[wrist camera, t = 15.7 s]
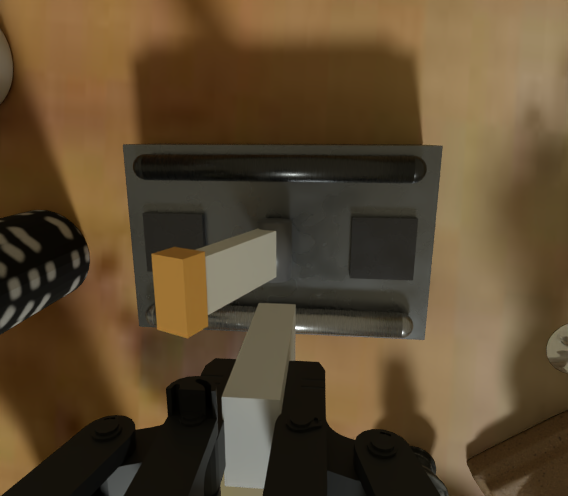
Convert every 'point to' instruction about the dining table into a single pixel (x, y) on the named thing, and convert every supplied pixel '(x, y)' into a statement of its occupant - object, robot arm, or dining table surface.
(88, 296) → the dining table surface
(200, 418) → the robot arm
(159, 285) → the breaker lever
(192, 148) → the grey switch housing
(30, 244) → the spotted tube
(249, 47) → the dining table surface
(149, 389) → the dining table surface
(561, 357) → the wineglass
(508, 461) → the candle holder
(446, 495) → the salt shaker
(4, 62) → the fruit juice
